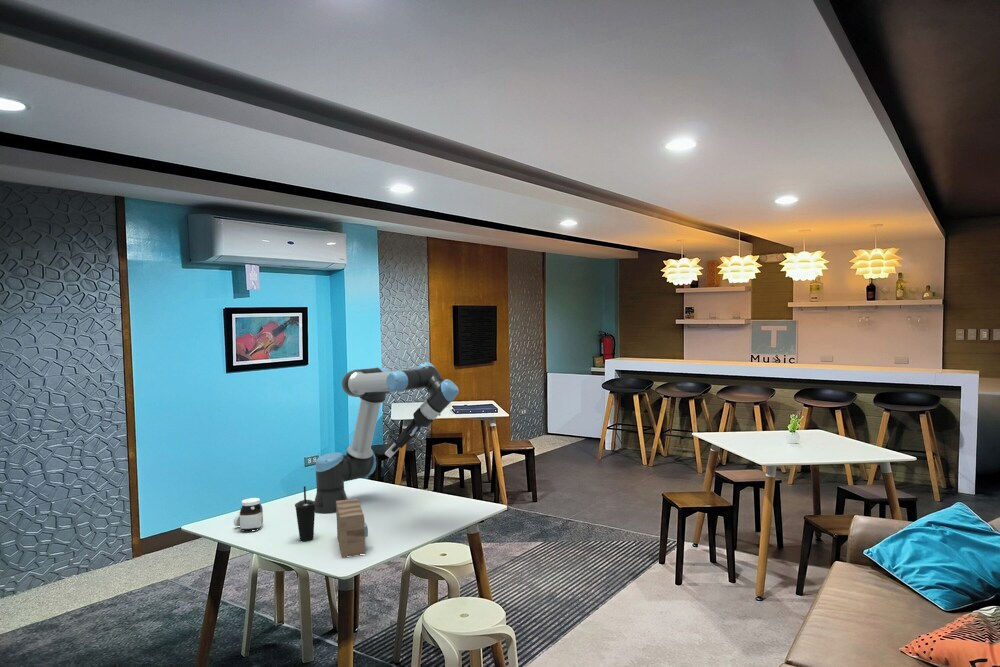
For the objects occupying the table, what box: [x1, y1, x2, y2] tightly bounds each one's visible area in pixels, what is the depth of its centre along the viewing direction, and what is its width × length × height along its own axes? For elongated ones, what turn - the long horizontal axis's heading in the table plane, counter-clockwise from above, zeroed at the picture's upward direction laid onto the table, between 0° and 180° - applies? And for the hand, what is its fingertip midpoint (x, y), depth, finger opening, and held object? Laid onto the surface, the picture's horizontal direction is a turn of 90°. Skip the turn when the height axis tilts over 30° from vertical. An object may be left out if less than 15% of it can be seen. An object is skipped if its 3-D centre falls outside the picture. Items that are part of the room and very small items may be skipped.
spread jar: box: [233, 497, 264, 532], centre depth 255 cm, size 12×11×12 cm
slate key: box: [364, 521, 369, 538], centre depth 226 cm, size 5×6×4 cm
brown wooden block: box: [335, 498, 366, 558], centre depth 230 cm, size 22×8×14 cm, turn 18°
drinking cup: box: [294, 486, 316, 543], centre depth 239 cm, size 8×8×20 cm
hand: (387, 455), depth 249 cm, fingers closed
